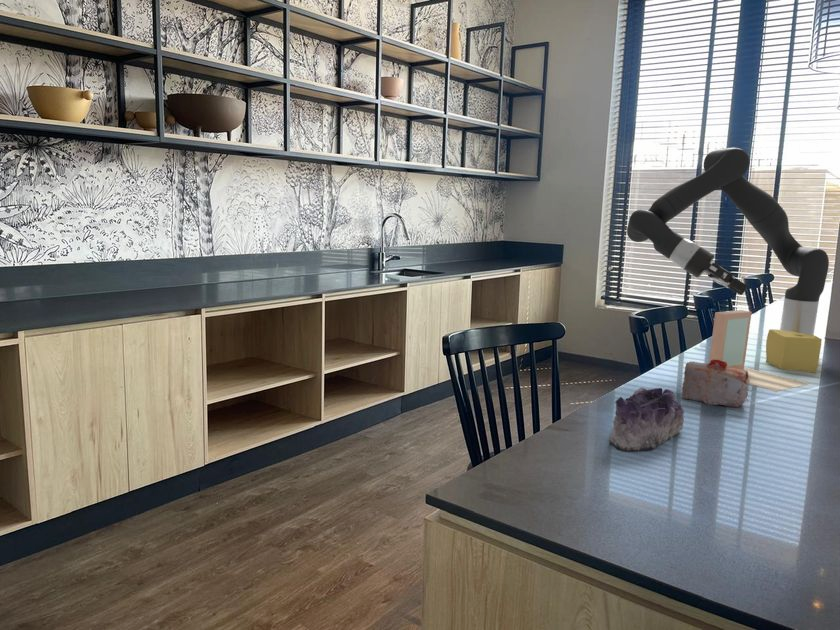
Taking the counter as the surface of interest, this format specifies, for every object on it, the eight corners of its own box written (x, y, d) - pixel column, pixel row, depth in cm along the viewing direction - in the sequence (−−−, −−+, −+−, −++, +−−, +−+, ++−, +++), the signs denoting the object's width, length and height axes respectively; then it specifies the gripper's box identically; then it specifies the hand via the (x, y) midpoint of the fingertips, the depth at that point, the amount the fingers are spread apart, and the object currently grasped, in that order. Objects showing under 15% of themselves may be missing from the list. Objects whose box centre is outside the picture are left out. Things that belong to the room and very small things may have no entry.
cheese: (800, 364, 187) (805, 330, 185) (818, 374, 177) (824, 338, 175) (763, 362, 188) (767, 328, 186) (779, 371, 177) (784, 336, 176)
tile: (733, 366, 178) (741, 309, 176) (744, 368, 176) (751, 311, 173) (707, 370, 172) (715, 312, 169) (718, 373, 170) (726, 314, 167)
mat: (725, 364, 183) (726, 362, 182) (809, 385, 164) (810, 383, 163) (691, 370, 174) (691, 368, 174) (775, 393, 155) (776, 391, 155)
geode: (661, 463, 110) (658, 406, 108) (596, 453, 117) (593, 400, 115) (694, 428, 125) (692, 378, 124) (635, 421, 133) (633, 374, 131)
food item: (746, 402, 147) (752, 361, 145) (745, 412, 140) (751, 368, 138) (682, 392, 153) (687, 352, 151) (678, 400, 146) (683, 358, 144)
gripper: (699, 242, 170) (755, 276, 164) (700, 250, 182) (752, 282, 177) (681, 265, 171) (736, 300, 165) (683, 271, 184) (734, 304, 178)
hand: (744, 291), depth 171 cm, fingers open, 8 cm apart
